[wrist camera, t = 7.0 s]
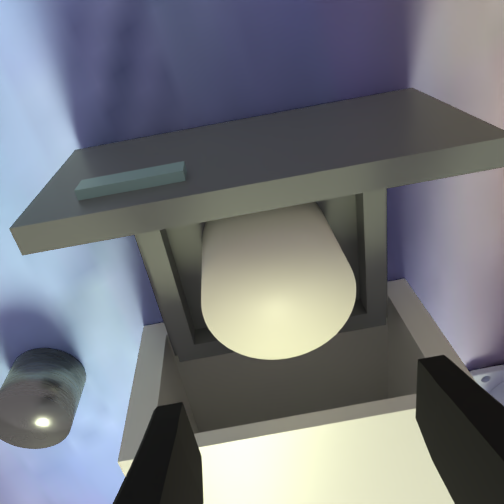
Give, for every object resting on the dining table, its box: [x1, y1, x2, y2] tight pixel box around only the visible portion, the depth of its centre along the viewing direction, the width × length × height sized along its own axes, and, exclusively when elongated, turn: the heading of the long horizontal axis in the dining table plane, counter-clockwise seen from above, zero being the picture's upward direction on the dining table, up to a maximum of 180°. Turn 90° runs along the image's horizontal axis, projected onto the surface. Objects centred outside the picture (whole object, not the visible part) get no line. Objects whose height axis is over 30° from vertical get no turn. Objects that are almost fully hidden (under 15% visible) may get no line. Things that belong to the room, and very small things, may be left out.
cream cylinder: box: [201, 202, 356, 360], centre depth 16 cm, size 5×5×4 cm
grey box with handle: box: [9, 88, 504, 362], centre depth 17 cm, size 13×10×7 cm
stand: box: [0, 348, 86, 449], centre depth 22 cm, size 4×4×3 cm
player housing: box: [118, 279, 477, 504], centre depth 21 cm, size 13×10×7 cm
